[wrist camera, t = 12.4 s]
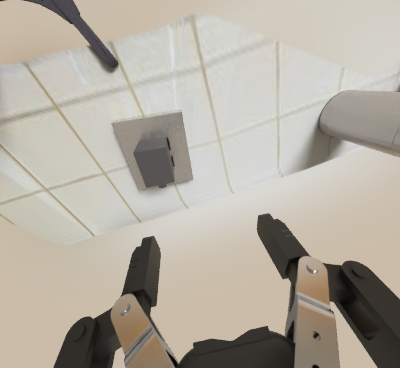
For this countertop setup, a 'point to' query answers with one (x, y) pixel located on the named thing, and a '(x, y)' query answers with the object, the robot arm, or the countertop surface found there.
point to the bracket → (78, 25)
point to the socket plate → (149, 129)
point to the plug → (155, 162)
